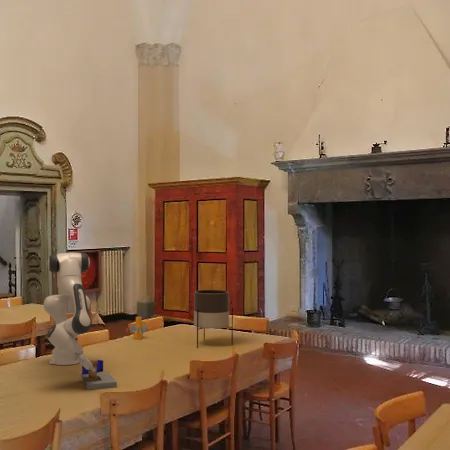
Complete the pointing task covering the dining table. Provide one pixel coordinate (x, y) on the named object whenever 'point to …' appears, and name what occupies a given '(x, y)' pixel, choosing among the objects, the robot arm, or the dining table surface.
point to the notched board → (100, 381)
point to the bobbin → (93, 374)
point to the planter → (211, 310)
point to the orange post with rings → (138, 329)
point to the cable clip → (99, 368)
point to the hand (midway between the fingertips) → (93, 369)
